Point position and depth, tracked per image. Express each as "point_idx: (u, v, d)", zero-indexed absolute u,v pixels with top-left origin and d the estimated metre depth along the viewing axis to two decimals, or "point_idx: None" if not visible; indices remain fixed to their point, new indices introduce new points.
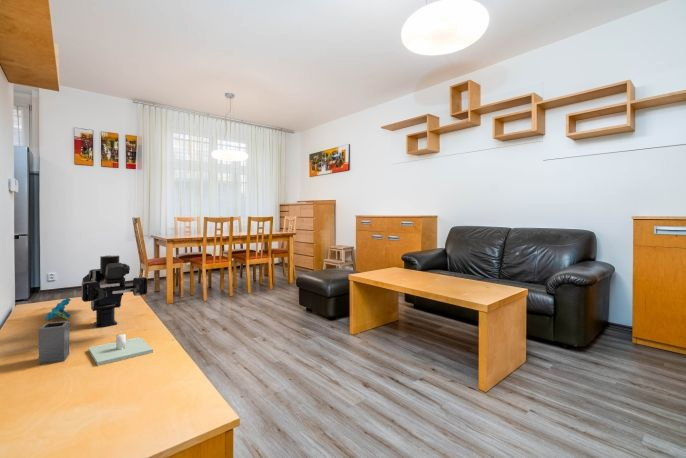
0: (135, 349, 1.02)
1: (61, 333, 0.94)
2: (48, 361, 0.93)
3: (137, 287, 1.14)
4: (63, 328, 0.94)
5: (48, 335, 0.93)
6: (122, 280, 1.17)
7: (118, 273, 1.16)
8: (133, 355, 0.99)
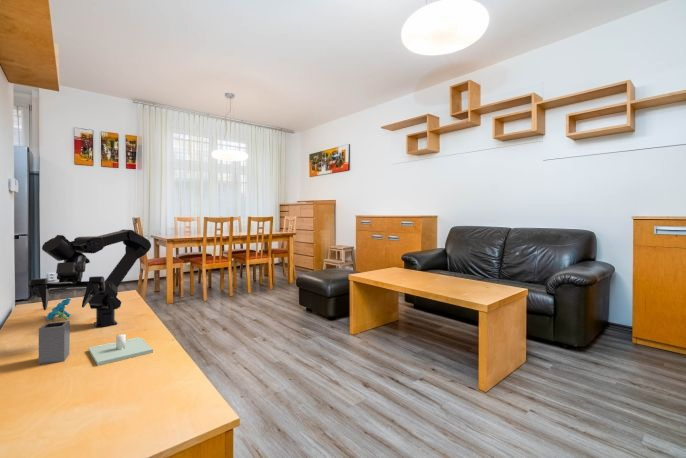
0: (135, 349, 1.02)
1: (61, 333, 0.94)
2: (48, 361, 0.93)
3: (84, 299, 1.05)
4: (63, 328, 0.94)
5: (48, 335, 0.93)
6: (76, 278, 1.08)
7: (70, 273, 1.05)
8: (133, 355, 0.99)
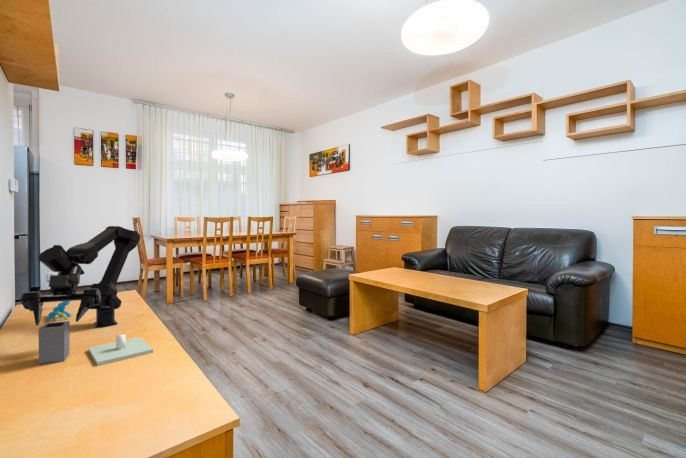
0: (135, 349, 1.02)
1: (61, 333, 0.94)
2: (48, 361, 0.93)
3: (78, 313, 1.01)
4: (63, 328, 0.94)
5: (48, 335, 0.93)
6: (70, 290, 1.03)
7: (64, 286, 1.01)
8: (133, 355, 0.99)
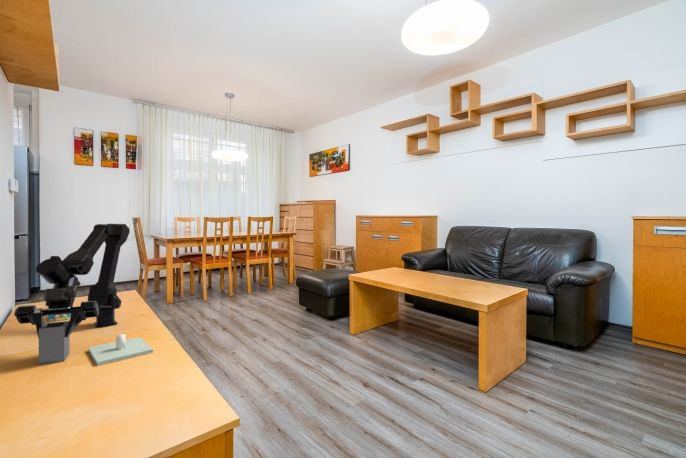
0: (135, 349, 1.02)
1: (61, 333, 0.94)
2: (48, 361, 0.93)
3: (68, 328, 0.97)
4: (63, 328, 0.94)
5: (48, 335, 0.93)
6: (67, 303, 1.00)
7: (60, 299, 0.97)
8: (133, 355, 0.99)
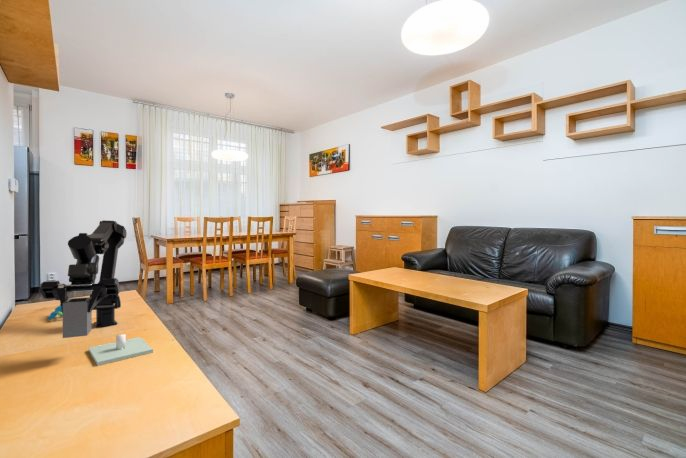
0: (135, 349, 1.02)
1: (84, 308, 0.96)
2: (72, 335, 0.95)
3: (91, 303, 0.99)
4: (86, 303, 0.96)
5: (72, 309, 0.95)
6: (89, 280, 1.02)
7: (83, 275, 0.99)
8: (133, 355, 0.99)
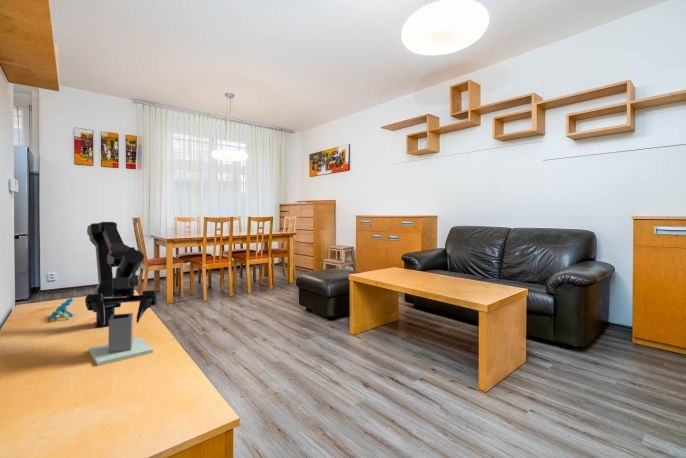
0: (135, 349, 1.02)
1: (128, 324, 1.01)
2: (117, 350, 1.00)
3: (138, 314, 1.04)
4: (130, 319, 1.01)
5: (117, 326, 0.99)
6: (130, 292, 1.06)
7: (125, 288, 1.04)
8: (133, 355, 0.99)
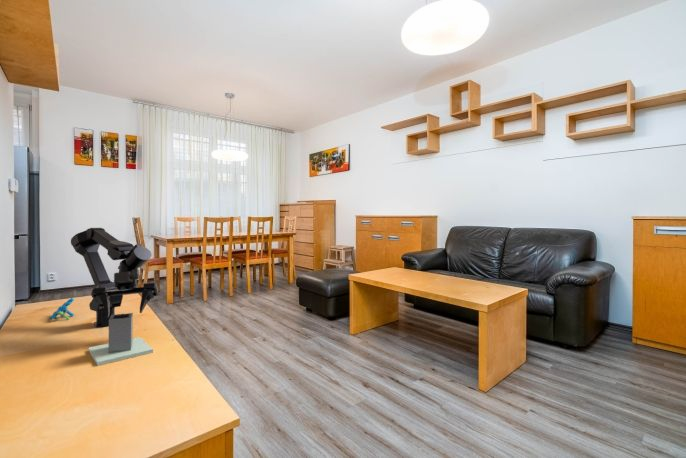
0: (135, 349, 1.02)
1: (128, 324, 1.01)
2: (117, 350, 1.00)
3: (141, 305, 1.12)
4: (130, 319, 1.01)
5: (117, 326, 0.99)
6: (132, 285, 1.14)
7: (126, 281, 1.11)
8: (133, 355, 0.99)
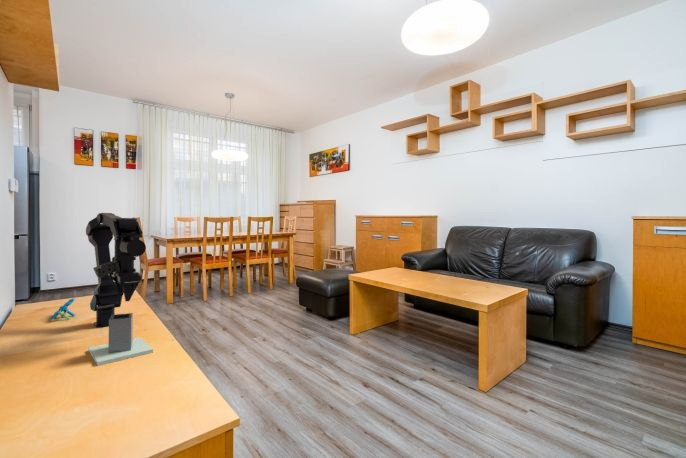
0: (135, 349, 1.02)
1: (128, 324, 1.01)
2: (117, 350, 1.00)
3: (124, 295, 1.11)
4: (130, 319, 1.01)
5: (117, 326, 0.99)
6: (117, 272, 1.12)
7: None
8: (133, 355, 0.99)
